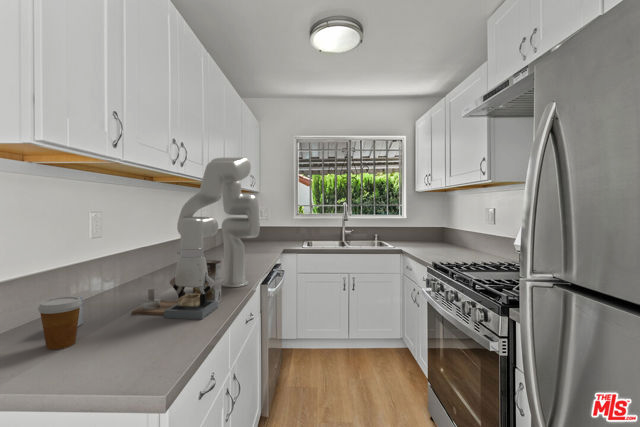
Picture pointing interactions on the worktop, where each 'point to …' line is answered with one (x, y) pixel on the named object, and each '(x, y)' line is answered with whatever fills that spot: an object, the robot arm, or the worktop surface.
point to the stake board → (157, 311)
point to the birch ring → (189, 300)
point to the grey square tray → (191, 311)
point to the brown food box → (215, 275)
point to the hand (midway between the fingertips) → (192, 303)
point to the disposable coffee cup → (60, 321)
